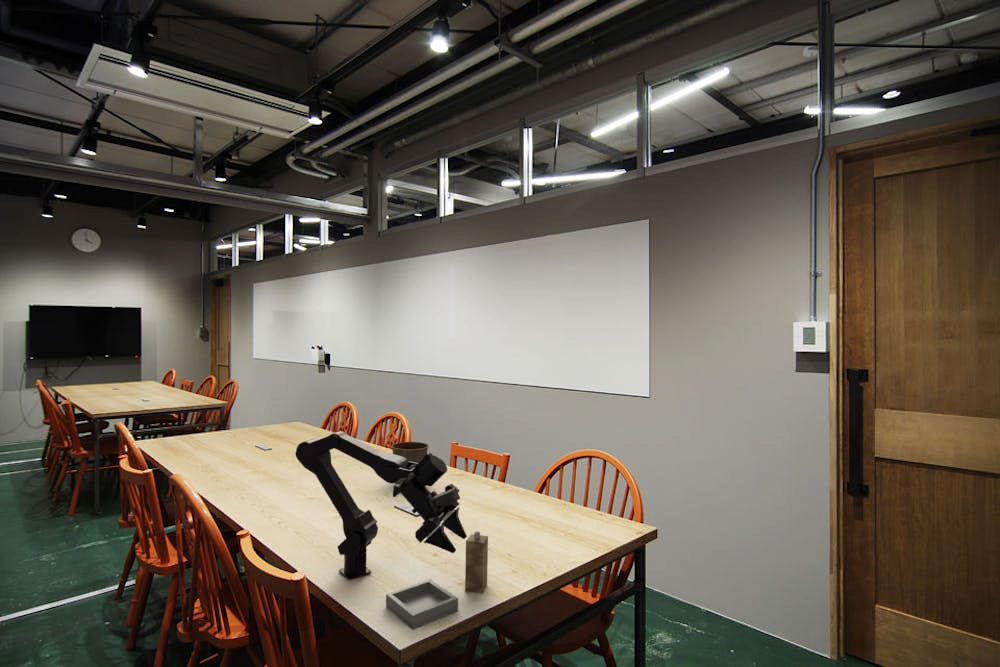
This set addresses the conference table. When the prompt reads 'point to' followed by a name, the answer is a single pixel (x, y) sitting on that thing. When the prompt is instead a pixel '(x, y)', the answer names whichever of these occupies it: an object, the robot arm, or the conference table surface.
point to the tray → (421, 603)
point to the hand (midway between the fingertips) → (460, 544)
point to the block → (476, 563)
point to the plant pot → (410, 452)
